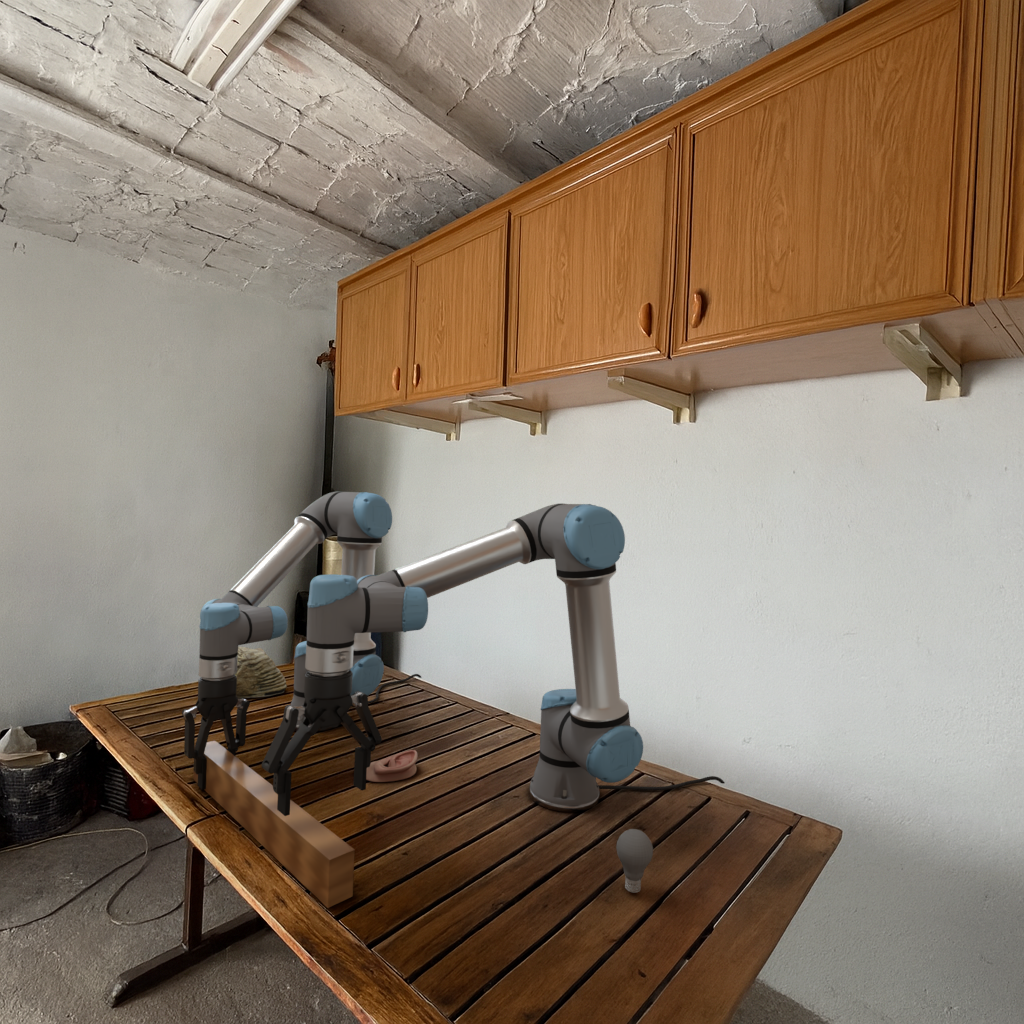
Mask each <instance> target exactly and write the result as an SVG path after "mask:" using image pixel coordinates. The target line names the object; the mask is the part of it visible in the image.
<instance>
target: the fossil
mask: <svg viewBox="0 0 1024 1024" xmlns="http://www.w3.org/2000/svg"><path fill="white" fill-rule="evenodd" d="M235 676H236V677H237V689H236V696H237V697H238V699H242V698H244V699H250V698H264V697H271V696H275V695H281V694H284V693H285V691H286V689H287V687H288V686H287V680H286V678H285V676H284V674H283V673H282V672H281V669H279V668H278V667H277V665H276V663H275V662H274V660H273V659H272V658H271V657H270V656H269V655H268V654H267V653H266V652H265V650H264V649H263V648H260V647H258V648H251V647H247V646H246V647H245V646H238V658H237V673H236V674H235Z"/></svg>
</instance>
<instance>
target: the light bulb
mask: <svg viewBox="0 0 1024 1024" xmlns="http://www.w3.org/2000/svg"><path fill="white" fill-rule="evenodd" d="M615 849H616V854H617V857H618V859H619V861H620V863H621V865H622V867H623V873H624V874H623V875H624V876H625V878H624V888H625V890H627V891H628V892H630V893H634V894H635V893H639V892H640V891H641V889H642V887H641V886H642V879H643V877H644V875H645V871H646V868H647V867H648V866H649V864H650V863H651V861H652V859H653V855H654V847H653V843H652V841H651V838H649V836H648V835H647V834H646V833H645V832H643V831H642V830H641V829H636V828H629V829H627V830H625V831H623V832H622V833H621V834H620V835H619V837H618V839H617V841H616V847H615Z"/></svg>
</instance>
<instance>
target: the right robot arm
mask: <svg viewBox="0 0 1024 1024" xmlns="http://www.w3.org/2000/svg"><path fill="white" fill-rule="evenodd" d="M625 544H626V535H625V531H624V527H623V525H622V523H621V521H620V519H619V518H618V517H617V515H616V514H614V513H613V512H612V511H611V510H609V509H608V508H606V507H603V506H600V505H599V506H598V505H596V504H591V503H553V504H549V505H547V506H544V507H542V508H539V509H537V510H534V511H532V512H528V513H527V514H524V515H522V516H519V517H517V518H514V519H511V520H509V521H507V523H506V526H505V527H504V528H501V529H499V530H496V531H493V532H490V533H488V534H484V535H482V536H480V537H477V538H474V539H472V540H469V541H467V542H463V543H460V544H458V545H455V546H452V547H449V548H447V549H445V550H442V551H440V552H436V553H434V554H431V555H429V556H426V557H424V558H420V559H418V560H415V561H413V562H410V563H408V564H405V565H402V566H399V567H396V568H394V569H392V570H388V571H386V572H382V573H380V574H374V575H366V576H363V577H361V578H360V579H358V580H356V578H355V577H353V576H349V575H341V574H333V573H331V574H328V573H327V574H319V575H317V576H314V577H313V578H312V579H311V581H310V583H309V592H308V594H309V595H308V601H307V602H306V603H307V618H306V619H307V622H306V641H307V644H306V661H305V668H306V669H307V670H308V671H307V672H306V673H305V684H304V695H305V701H304V704H303V705H302V706H297V707H293V706H291V705H290V704H287V705H286V706H285V707H284V709H283V716H282V720H281V722H280V724H279V727H278V729H277V730H276V733H275V735H274V736H273V737H274V738H273V740H272V742H271V744H270V746H269V748H268V750H267V752H266V754H265V756H264V758H263V759H262V760H263V761H262V762H261V768H262V769H263V770H264V771H265V772H267V773H268V774H271V775H272V774H273V779H272V780H273V781H272V785H273V790H274V792H275V793H277V794H278V803H277V810H278V811H279V812H281V813H282V814H283V815H284V816H287V815H290V800H291V795H292V793H291V792H292V775H293V774H292V772H291V771H289V769H290V767H291V766H292V765H293V763H294V762H295V760H296V759H297V758H298V757H299V754H300V753H301V752H302V751H303V749H304V747H305V746H306V745H307V743H308V742H309V740H310V739H311V738H312V737H313V736H315V735H316V733H318V732H319V731H318V729H319V730H325V729H327V728H329V727H335V728H337V727H339V726H340V725H342V727H343V728H344V729H345V730H346V731H347V732H348V733H349V735H350V736H351V737H352V738H353V739H354V740H355V741H356V742H357V743H358V745H359V746H356V747H354V762H353V763H354V764H353V765H354V766H353V786H354V787H355V788H357V789H359V790H360V791H366V790H367V780H366V774H367V768H368V767H370V764H371V762H372V752H374V751H375V750H376V745H379V744H381V743H382V741H383V737H382V735H381V732H380V729H379V728H378V726H377V723H376V721H375V719H374V716H373V714H372V712H371V710H370V707H369V704H368V701H369V696H367V695H366V694H364V693H362V692H360V691H356V692H355V693H354V695H352V696H351V695H350V693H351V692H352V678H353V673H352V671H351V670H350V669H351V668H352V667H353V650H354V637H355V633H371V634H372V633H400V632H402V633H407V632H413V631H420V630H422V629H424V627H425V626H426V624H427V622H428V618H429V599H428V598H431V597H434V596H436V595H438V594H441V593H444V592H446V591H448V590H449V591H450V590H451V589H455V588H457V587H459V586H461V585H464V584H467V583H470V582H472V581H474V580H477V579H479V578H481V577H484V576H487V575H489V574H492V573H494V572H497V571H499V570H501V569H504V568H507V567H510V566H512V565H514V564H517V563H520V564H523V565H528V564H531V563H533V562H536V561H541V560H554V563H555V573H556V577H557V578H558V579H559V580H560V581H561V582H563V583H564V585H565V586H564V587H565V597H566V604H567V607H566V608H567V613H568V614H567V615H568V626H569V636H570V645H571V655H572V656H571V658H572V667H573V668H572V669H573V677H574V687H575V688H560V689H559V688H558V689H551V690H548V691H547V692H545V693H544V694H543V696H542V699H541V705H540V731H539V733H540V734H539V756H538V761H537V762H536V763H537V764H536V766H535V770H534V773H533V776H532V778H531V780H530V783H529V796H530V799H531V800H532V801H533V802H535V803H536V804H538V805H539V806H541V807H543V808H546V809H547V810H548V809H549V810H552V811H557V812H563V813H564V812H565V813H566V812H567V813H575V812H583V811H587V810H590V809H592V808H594V807H595V806H597V804H598V803H599V801H600V790H620V791H621V790H622V791H624V790H625V791H649V792H652V791H657V792H658V791H669V790H675V789H679V788H683V787H686V786H690V785H696V784H701V783H704V782H708V781H717V782H719V783H720V784H725V783H726V781H724V780H723V779H722V778H721V777H718V776H714V775H709V776H705V777H702V778H698V779H692V780H686V781H684V782H680V783H676V784H672V785H664V786H639V785H638V786H636V785H612V784H614V783H619V782H621V781H624V780H625V779H627V778H628V777H629V776H630V775H631V774H633V773H634V771H635V769H636V767H638V766H639V764H640V763H641V760H642V757H643V753H644V741H643V737H642V735H641V733H639V732H638V730H637V728H635V727H634V726H631V717H630V708H629V704H628V703H627V702H626V701H625V700H624V699H622V697H621V694H620V684H619V683H620V682H619V672H618V662H617V661H618V660H617V651H616V641H615V629H614V617H613V607H612V596H611V585H610V580H611V579H612V578H613V576H614V575H615V574H616V573H617V564H616V563H617V562H618V561H619V560H620V558H621V554H623V552H624V549H625ZM352 704H353V706H352ZM351 706H352V707H354V708H355V710H356V711H355V712H356V713H357V715H358V717H359V720H360V723H361V724H362V727H363V729H364V731H365V733H364V732H363V731H362V730H361V729H360V727H359V726H358V725H357V724H356V723H355V720H354V719H353V718H352V717H351V716H350V715H349V713H348V712H349V710H350V709H351V708H352V707H351ZM301 715H304V716H305V718H304V719H303V720H302V722H301V723H300V725H299V729H298V730H297V731H296V732H295V728H296V725H297V721H299V720H300V719H301ZM340 723H341V724H340ZM309 724H311V726H310V727H308V726H309ZM339 724H340V725H339ZM338 725H339V726H338ZM317 731H318V732H317ZM325 731H326V730H325ZM293 734H294V735H293ZM597 779H598V780H600V781H601V782H604V783H607V784H598V782H597ZM608 783H609V784H610V785H608Z"/></svg>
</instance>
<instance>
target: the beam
mask: <svg viewBox="0 0 1024 1024" xmlns="http://www.w3.org/2000/svg"><path fill="white" fill-rule="evenodd" d="M227 749H228V748H226V747H224V746H223V745H222V744H220V743H219V742H218V741H216V740H211V741H207V744H206V748H205V751H204V755H203V756H205V757H206V758H207V769H206V789H204V790H203V791H205V792H206V793H207V794H208V795H209V796H210V797H211V798H212V799H213V800H214V801H215V802H216V803H217V804H218V805H219V806H220V807H222V809H224V810H225V812H227V814H229V815H230V816H231V817H232V818H233V819H234V820H235V821H236V822H237V823H238V824H239V825H240V826H241V827H242V828H243V829H244V830H245V831H247V832H248V834H250V835H251V837H253V838H254V839H255V840H256V841H257V842H258V843H259V844H260V845H261V846H262V847H263V848H264V849H265V850H266V851H268V853H270V855H272V856H273V858H275V859H276V860H277V861H278V862H279V863H280V864H281V865H282V866H283V867H284V868H285V869H286V870H287V871H288V872H289V873H290V874H291V875H292V876H293V877H294V878H296V879H297V880H298V882H300V883H301V884H302V885H303V886H304V887H305V888H306V889H307V890H308V891H309V892H310V893H311V894H312V895H313V896H314V897H315V898H316V899H317V900H319V901H320V902H321V903H322V904H323V905H324V906H325V908H327V909H329V908H331V907H333V906H335V905H337V904H340V903H342V902H344V901H346V900H349V899H350V898H352V897H353V896H354V876H355V875H354V873H355V851H356V850H355V849H354V847H352V846H351V845H350V844H348V843H347V842H345V841H344V840H343V839H342V838H341V837H339V836H338V835H337V834H335V833H334V832H333V831H331V830H330V829H329V828H328V827H326V826H325V825H323V823H321V821H319V820H318V819H316V818H315V817H314V816H312V815H311V814H310V813H308V811H306V810H305V809H304V808H302V807H301V806H300V805H298V804H297V803H296V802H294V801H293V800H292V799H290V815H287V816H284V815H283V814H282V813H281V812H279V811H278V810H277V803H278V794H277V793H275V792H274V790H273V784H272V783H270V782H269V781H267V779H265V778H263V776H261V775H260V774H259V773H258V772H256V771H255V770H254V769H252V768H251V767H249V765H247V764H246V763H244V761H242V760H240V759H239V758H238V757H237V756H234V755H233V754H232V753H230V752H229V751H228V750H227ZM192 771H193V773H192V775H193V776H192V778H193V779H192V780H193V781H194V782H195V783H196V784H198V774H196V773H195V772H194V770H192Z"/></svg>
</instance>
